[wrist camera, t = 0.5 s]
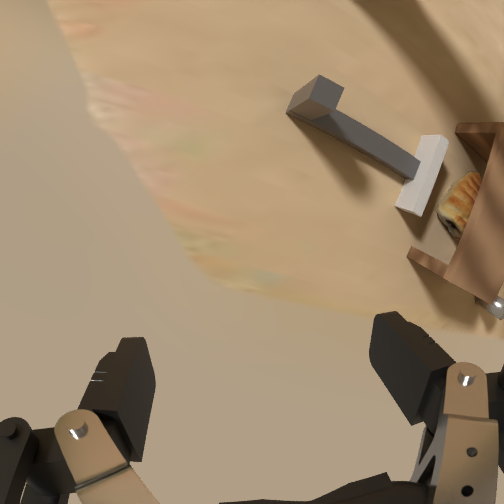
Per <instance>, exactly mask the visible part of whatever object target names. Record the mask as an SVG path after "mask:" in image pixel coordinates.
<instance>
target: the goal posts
mask: <svg viewBox="0 0 504 504" xmlns="http://www.w3.org/2000/svg"><path fill="white" fill-rule="evenodd" d="M475 302H476V304H477V305H479V306H480V307H482V308H483V309H485V310H486V311H488V312H489V313H491V314H492V315H494V316H495V317H497V318H498V319H500V320H502V319H503V318H504V299H502V298H501V297H499V296H497V297H496V299H495V301H494V303H493V305H491V304H489V303H487V302H485V301H484V300H482V299H480V298H478V297H476V298H475Z"/></svg>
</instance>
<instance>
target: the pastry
mask: <svg viewBox="0 0 504 504" xmlns="http://www.w3.org/2000/svg"><path fill="white" fill-rule="evenodd" d="M481 183H482V179H481V176H480V174H479V173H477V172H468V173H467V174H466V175H465V176H464V177H462V178H460V179H459V180H458V181H457V182H455V183H453V184H452V185H451V188H450V189H449V190H448V192H447V193H446V194H445V195H444V196H443V198H442V200H441V201H440V203H439V205H438V207H437V213H438V217H439V219H440V220H441V221H442V222H443V223H444V224H445V225H446V226H447V227H448V229H449V231H450V233H451V234H452V235H453V236H455V237H459V238H461V237H462V234H463V232H464V229H465V227H466V224H467V222H468V219H469V217H470V214H471V211H472V209H473V206H474V203H475V200H476V198H477V195H478V192H479V189H480V186H481Z"/></svg>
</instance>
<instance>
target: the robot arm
mask: <svg viewBox="0 0 504 504" xmlns="http://www.w3.org/2000/svg"><path fill="white" fill-rule="evenodd" d="M369 357H370V362H371V365H372V366H373V368H374V369H375V371H376V373H377V374H378V376H379V377H380V378H381V380H382V381H383V383H384V385H385V386H386V388H387V389H388V391H389V392H390V394H391V395H392V397H393V398H394V400H395V401H396V403H397V404H398V406H399V407H400V409H401V411H402V412H403V414H404V415H405V417H406V418H407V420H408V421H409V423H410V424H411V426H412V425H415V424H417V423H420V422H423V421H424V423H425V424H426V426H425V428H424V431H423V435H422V439H421V444H420V448H419V453H418V457H417V461H416V464H415V468H414V472H413V474H412V477H411V480H410V481H391V480H390V478H389V476H388V474H387V472H385V473H382V474H379V475H376V476H372V477H369V478H366V479H362V480H359V481H355V482H351V483H348V484H347V485H345V486H342V487H340V488H338V489H336V490H334V491H332V492H330V493H328V494H326V495H323V496H321V497H319V498H317V499H314V500H312V501H305V502H304V501H280V500H264V499H261V500H252V501H239V502H226V503H225V502H224V503H219V504H495V501H496V491H497V478H498V465H499V467H500V468H501V470H502V471H503V473H504V365H503V367H502V370H501V372H496V373H488V374H485V373H484V371H483V370H482V369H481V368H480V367H478V366H477V365H474V364H472V363H467V362H459V363H456V362H455V361H454V360H453V359H452V358H451V357H450V356H449V355H448V354H447V353H446V352H445V351H444V350H443V349H442V348H441V347H440V346H439V345H438V344H437V343H435V341H434V340H433V339H432V338H431V337H429V335H428V334H427V333H426V332H425V331H424V330H423V329H422V328H421V327H419V326H417V325H415V324H413V323H411V322H407V321H406V320H405V319H404V318H403V317H402V316H401V315H400V314H399V313H398V312H396V311H393V312H387V313H381V314H377V315H376V316H375V318H374V322H373V330H372V336H371V343H370V348H369ZM155 384H156V383H155V374H154V370H153V367H152V363H151V359H150V355H149V351H148V347H147V344H146V341H145V339H144V337H131V338H122V339H121V341H120V343H119V345H118V348H117V350H116V352H109V353H108V354H107V355H105V356H104V357H103V358H102V359H101V360H100V361H99V363H98V365H97V367H96V370H95V373H94V374H93V376H92V378H91V381H90V382H89V385H88V387H87V389H86V391H85V393H84V396H83V398H82V400H81V402H80V405H79V407H78V409H77V410H74V411H70V412H68V413H66V414H64V415H63V416H62V417H60V418H59V420H58V421H57V423H56V425H55V427H53V428H46V429H37V430H32V429H31V427H30V426H29V424H28V423H27V422H26V421H25V420H24V419H22V418H19V417H12V418H8V419H5V420H3V421H2V422H0V504H68V498H69V494H70V493H77V495H78V497H79V499H80V501H81V503H82V504H160V503H159V502H158V501H157V499H156V498H155V497H154V496H153V495H152V493H151V492H150V491H149V489H148V488H147V487H146V485H145V484H144V483H143V481H142V480H141V479H140V477H139V476H138V475H137V473H136V472H135V471H134V470H133V468H132V467H131V465H130V464H129V463H130V461H134V462H142V457H143V451H144V445H145V440H146V434H147V429H148V423H149V418H150V413H151V408H152V403H153V398H154V393H155V386H156V385H155ZM25 483H27V484H26V487H25V490H24V493H23V497H22V500H21V503H20V499H21V495H22V492H23V489H24V486H25Z"/></svg>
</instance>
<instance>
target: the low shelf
mask: <svg viewBox="0 0 504 504" xmlns="http://www.w3.org/2000/svg"><path fill="white" fill-rule="evenodd" d="M455 133H456V134H457V135H458V136H459V137H460V138H461V139H463V140H464V141H465V142H466V143H467V144H468V145H469V146H470V147H472V148H473V149H474V150H475V151H476V152H477V153H478V154H479V155H480V156H481V157H482V158H483V159H484V160H485V161H486V162H488V164H487V167H486V170H485V173H484V177H483V180H482V183H481V186H480V189H479V192H478V195H477V198H476V200H475V203H474V206H473V209H472V211H471V214H470V217H469V219H468V222H467V224H466V227H465V229H464V232H463V234H462V237H461V239H460V241H459V244H458V246H457V248H456V251H455V253H454V255H453V257H452V259H451V262H450V264H449V266H448V265H446V264H445V263H443V262H441V261H439V260H437V259H435V258H433V257H431V256H429V255H428V254H426V253H424V252H422V251H420V250H418V249H416V248H414V247H412V246H411V248H410V250H409V253H408V255H407V257H408V258H410V259H412V260H413V261H415V262H417V263H419V264H420V265H422V266H424V267H425V268H427V269H429V270H430V271H432V272H434V273H436V274H437V275H439V276H441V277H442V278H444V279H446V280H447V281H449V282H450V283H452V284H454V285H456V286H458V287H460V288H462V289H464V290H465V291H467V292H469V293H471V294H473V295H475V296H476V297H478V298H480V299H482V300H484V301H485V302H487V303H489V304H491V305H493V303H494V301H495V299H496V297H497V295H498V292H499V290H500V288H501V286H502V284H503V282H504V122H497V123H465V124H457V127H456V131H455Z"/></svg>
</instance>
